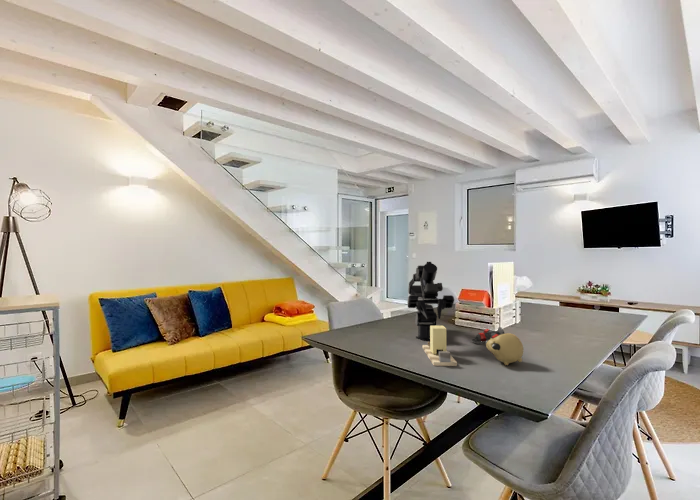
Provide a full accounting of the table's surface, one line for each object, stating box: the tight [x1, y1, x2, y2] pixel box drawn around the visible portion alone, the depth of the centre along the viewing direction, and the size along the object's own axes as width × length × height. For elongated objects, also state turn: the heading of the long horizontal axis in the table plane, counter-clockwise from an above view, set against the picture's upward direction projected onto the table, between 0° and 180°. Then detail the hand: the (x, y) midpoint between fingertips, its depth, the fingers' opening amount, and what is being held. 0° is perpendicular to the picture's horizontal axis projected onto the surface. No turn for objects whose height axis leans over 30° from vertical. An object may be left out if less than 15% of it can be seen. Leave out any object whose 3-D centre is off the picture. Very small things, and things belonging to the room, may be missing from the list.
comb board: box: [422, 341, 458, 367], centre depth 129 cm, size 22×8×4 cm, turn 178°
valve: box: [470, 326, 505, 345], centre depth 145 cm, size 6×26×15 cm
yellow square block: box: [429, 325, 447, 354], centre depth 129 cm, size 5×5×10 cm
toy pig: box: [485, 332, 525, 366], centre depth 121 cm, size 10×12×11 cm
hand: (433, 318), depth 138 cm, fingers open, 5 cm apart
